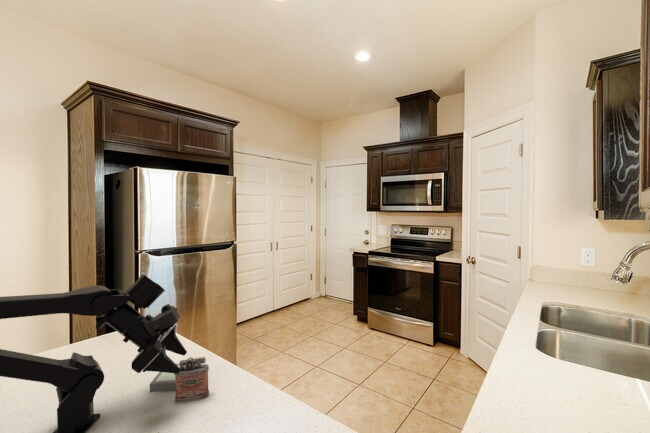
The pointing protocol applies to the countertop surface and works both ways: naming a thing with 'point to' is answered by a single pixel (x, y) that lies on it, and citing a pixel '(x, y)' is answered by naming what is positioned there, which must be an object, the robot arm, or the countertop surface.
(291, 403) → the countertop surface
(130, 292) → the robot arm
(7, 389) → the countertop surface
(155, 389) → the baseplate
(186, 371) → the lighter
